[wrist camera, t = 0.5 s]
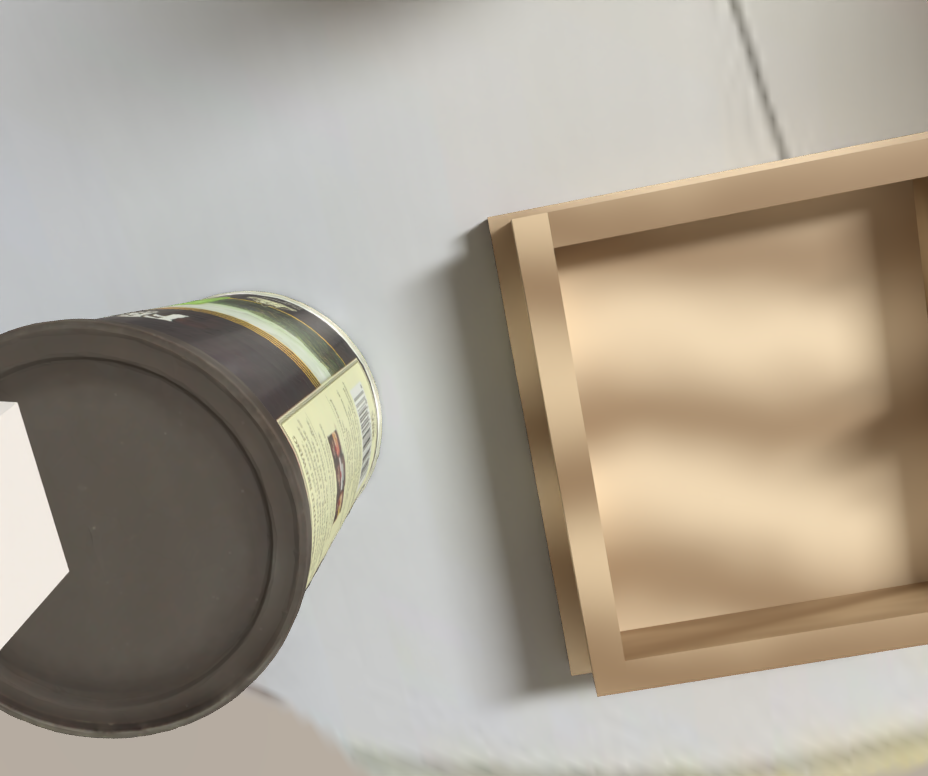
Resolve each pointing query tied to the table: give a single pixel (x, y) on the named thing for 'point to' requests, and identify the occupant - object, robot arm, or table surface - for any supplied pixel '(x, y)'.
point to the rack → (730, 413)
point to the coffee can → (180, 500)
